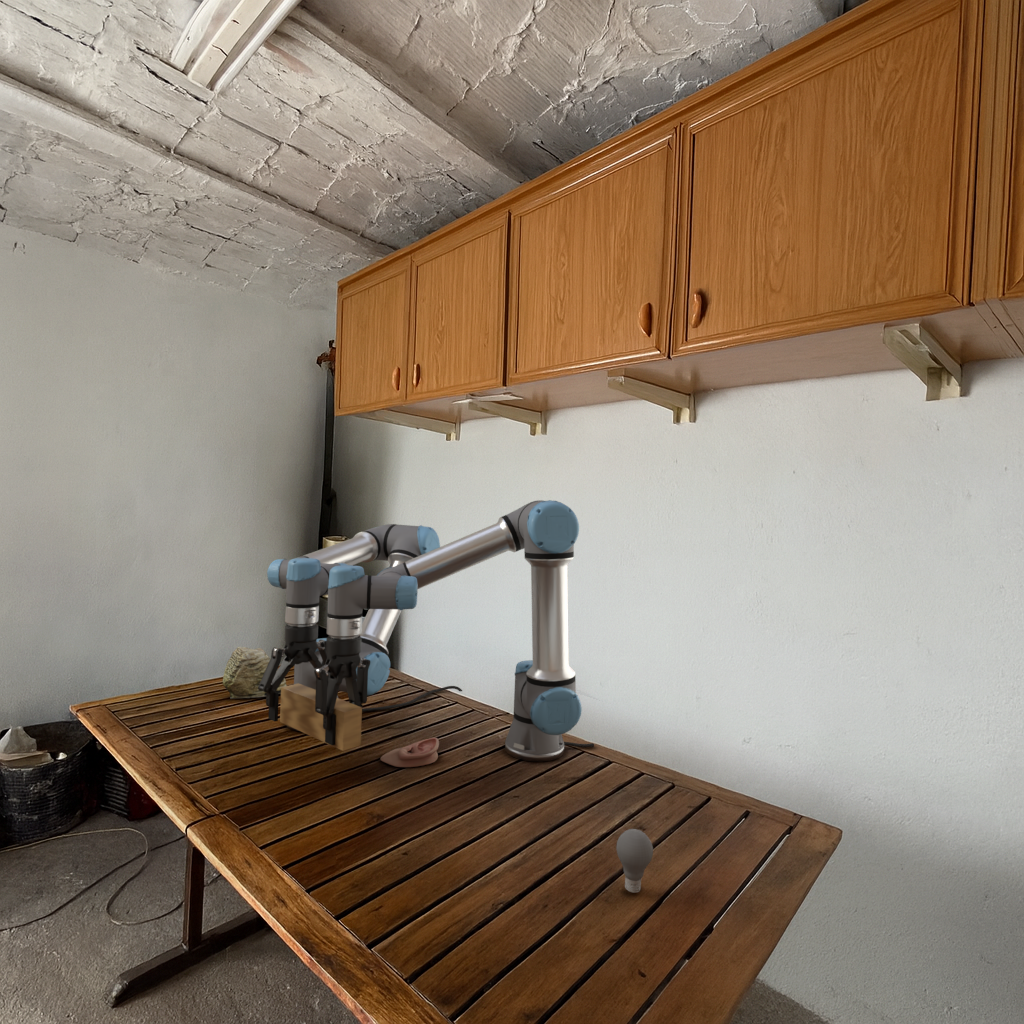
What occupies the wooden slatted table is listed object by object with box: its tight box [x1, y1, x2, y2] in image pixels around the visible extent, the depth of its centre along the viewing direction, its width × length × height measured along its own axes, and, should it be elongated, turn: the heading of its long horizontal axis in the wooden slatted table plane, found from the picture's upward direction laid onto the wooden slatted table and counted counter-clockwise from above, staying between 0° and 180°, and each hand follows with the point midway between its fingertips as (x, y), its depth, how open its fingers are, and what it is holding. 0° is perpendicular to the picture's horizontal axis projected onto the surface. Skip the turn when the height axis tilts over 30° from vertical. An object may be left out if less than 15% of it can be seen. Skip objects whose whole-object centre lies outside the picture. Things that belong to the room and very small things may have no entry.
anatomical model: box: [379, 737, 440, 768], centre depth 155 cm, size 13×4×12 cm
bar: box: [279, 683, 363, 752], centre depth 146 cm, size 25×5×8 cm, turn 51°
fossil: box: [222, 646, 288, 699], centre depth 198 cm, size 9×18×15 cm, turn 132°
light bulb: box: [615, 828, 654, 894], centre depth 106 cm, size 6×6×10 cm
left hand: (298, 713), depth 151 cm, fingers open, 12 cm apart
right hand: (340, 739), depth 141 cm, fingers closed on bar, 5 cm apart
